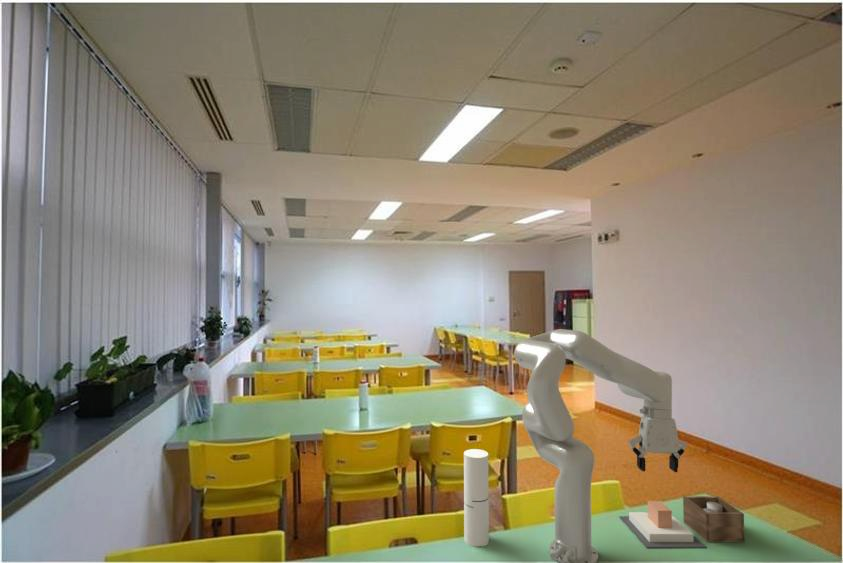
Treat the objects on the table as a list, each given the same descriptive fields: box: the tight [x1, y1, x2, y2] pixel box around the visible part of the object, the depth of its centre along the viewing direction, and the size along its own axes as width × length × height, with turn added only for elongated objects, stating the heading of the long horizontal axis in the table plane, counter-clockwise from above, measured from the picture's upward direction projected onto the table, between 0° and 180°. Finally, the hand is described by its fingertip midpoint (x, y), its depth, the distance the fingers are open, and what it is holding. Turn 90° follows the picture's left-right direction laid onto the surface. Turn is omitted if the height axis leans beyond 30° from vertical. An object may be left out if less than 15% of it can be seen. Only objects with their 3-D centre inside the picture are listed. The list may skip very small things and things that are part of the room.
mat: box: [618, 515, 707, 549], centre depth 132 cm, size 17×17×1 cm
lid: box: [628, 500, 694, 542], centre depth 132 cm, size 13×13×7 cm
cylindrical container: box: [463, 448, 490, 547], centre depth 128 cm, size 7×7×25 cm
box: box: [682, 495, 745, 543], centre depth 132 cm, size 11×11×8 cm
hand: (657, 470), depth 132 cm, fingers open, 9 cm apart
